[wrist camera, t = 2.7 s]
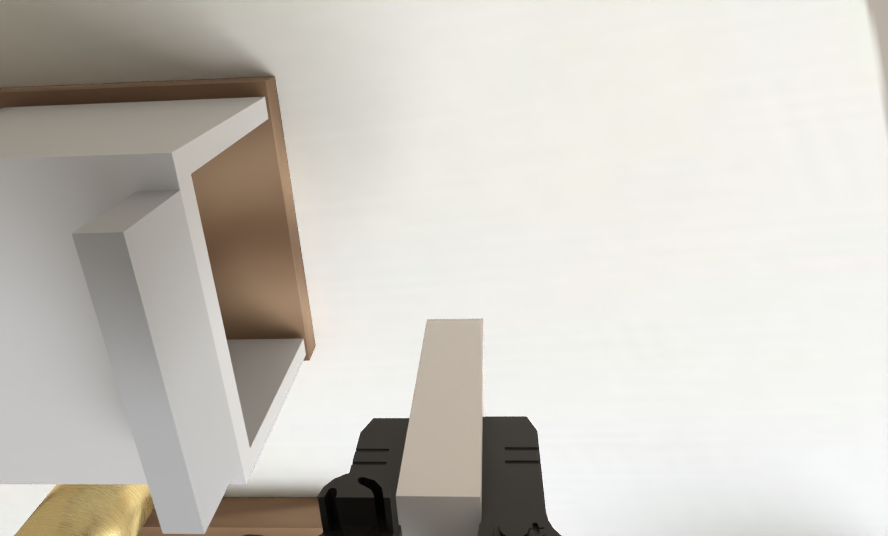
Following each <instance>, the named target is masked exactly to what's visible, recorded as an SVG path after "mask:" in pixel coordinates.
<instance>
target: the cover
mask: <svg viewBox="0 0 888 536" xmlns="http://www.w3.org/2000/svg"><path fill="white" fill-rule="evenodd" d="M267 119H268V113H267V106H266V100H265V97H247V98H222V99H198V100H173V101H149V102H124V103H100V104H75V105H50V106H26V107H4V108H1V109H0V484H148V487H149V490H150V493H151V497H152V500H153V503H154V506H155V510H156V513H157V516H158V520H159V523H160V526H161V529H162V533H163V534H205V532H206V530H207V528H208V526H209V524H210V522H211V520H212V518H213V516H214V514H215V512H216V510H217V508H218V506H219V504H220V502H221V500H222V498H223V496H224V494H225V492H226V489H227V487H228V485H246V484H247V482H248V480H249V478H250V475H251V473H252V471H253V469H254V467H255V464H256V462H257V460H258V458H259V456H260V454H261V451H262V449H263V447H264V445H265V443H266V440H267V438H268V436H269V434H270V432H271V430H272V427H273V425H274V423H275V421H276V419H277V416H278V414H279V412H280V410H281V408H282V406H283V403H284V401H285V399H286V397H287V395H288V392H289V390H290V388H291V386H292V384H293V382H294V379H295V377H296V375H297V373H298V371H299V368H300V366H301V364H302V362H303V360H304V358H305V355H306V352H305V345H304V339H231V340H226V335H225V330H224V326H223V321H222V316H221V312H220V307H219V302H218V298H217V293H216V288H215V284H214V279H213V274H212V270H211V265H210V260H209V256H208V251H207V247H206V242H205V237H204V233H203V228H202V223H201V219H200V214H199V209H198V205H197V200H196V195H195V191H194V186H193V181H192V177H191V174H192V173H193V172H194V171H196V170H197V169H199V168H200V167H201V166H203V165H204V164H206V163H207V162H208V161H210V160H211V159H213V158H214V157H215V156H217V155H218V154H220V153H221V152H223V151H224V150H225V149H227V148H228V147H230V146H231V145H232V144H234V143H235V142H237V141H238V140H239V139H241V138H242V137H244V136H245V135H246V134H248V133H249V132H251V131H252V130H253V129H255V128H256V127H258V126H259V125H260V124H262V123H263V122H265V121H266V120H267Z"/></svg>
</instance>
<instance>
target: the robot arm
mask: <svg viewBox="0 0 888 536" xmlns="http://www.w3.org/2000/svg"><path fill="white" fill-rule="evenodd" d="M318 504H319V510H320V516H321V522H322V528H323V533H322V534H320V535H319V536H561V535H560V534H559V533H558V532H557V531H556V530H554V529H553V527H552V526H551V524H550V522H549V521H548V518H547V515H546V509H545V500H544V491H543V481H542V472H541V464H540V453H539V444H538V435H537V430H536V429H535V427H534V426H533V425H532V423H531V422H530V421H529V419H528V418H527V417H485V371H484V335H483V319H434V320H427V323H426V328H425V334H424V340H423V345H422V351H421V357H420V362H419V368H418V373H417V379H416V385H415V390H414V396H413V402H412V407H411V413H410V418H373V420H372V421H371V422H370V423H369V424H368V425H367V426H366V427H365V428H364V430H363V431H362V432H361V433H360V437H359V441H358V444H357V448H356V452H355V455H354V458H353V465H352V466H351V469H350V473H349V474H345V475H343V476H340V477H338V478H335V479H333V480H332V481H331V482H329V483H328V484H327V485H326V486H324V487H323V489H322V490H321V492H320V494H319V496H318ZM243 536H262V535H253V534H247V535H243Z"/></svg>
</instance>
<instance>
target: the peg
mask: <svg viewBox="0 0 888 536" xmlns="http://www.w3.org/2000/svg"><path fill="white" fill-rule="evenodd" d="M154 507H155V506H154V503H153V500H152V497H151V493H150V490H149V487H148V484H57V485H56V486H55V487H54V488H53V489H52V491H51V492H50V493H49V494H48V495H47V497H46V498H45V499H44V500H43V502H42V503H41V504H40V505H39V506H38V508H37V509H36V510H35V511H34V512H33V514H32V515H31V516H30V517H29V518H28V520H27V521H26V522H25V523H24V525H23V526H22V527H21V528H20V529H19V531H18V532H17V533H16V534H15V535H14V536H137V535H138V534H139V532H140V530H141V529H142V527H143V526H144V524H145V522H146V521H147V519H148V517H149V516H150V514H151V512H152V511H153V509H154Z"/></svg>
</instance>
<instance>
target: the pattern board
mask: <svg viewBox="0 0 888 536" xmlns="http://www.w3.org/2000/svg"><path fill="white" fill-rule="evenodd" d="M247 97H265V100H266V106H267V113H268V119H267V120H266V121H265V122H263V123H262V124H260V125H259V126H258V127H256V128H255V129H253V130H252V131H251V132H249V133H248V134H246V135H245V136H244V137H242V138H241V139H239V140H238V141H237V142H235V143H234V144H232V145H231V146H230V147H228V148H227V149H225V150H224V151H223V152H221V153H220V154H218V155H217V156H215V157H214V158H213V159H211V160H210V161H208V162H207V163H206V164H204V165H203V166H201V167H200V168H199V169H197V170H196V171H194V172H193V173H192V174H191V177H192V181H193V186H194V191H195V195H196V200H197V205H198V209H199V214H200V219H201V223H202V228H203V233H204V237H205V242H206V247H207V251H208V256H209V260H210V265H211V270H212V274H213V279H214V284H215V288H216V293H217V298H218V302H219V307H220V312H221V316H222V321H223V326H224V330H225V335H226V340H231V339H304V345H305V352H306V355H305V358H304V360H303V361H306V360H310V357H311V355H312V353H313V351H314V348H315V340H314V333H313V326H312V320H311V313H310V307H309V300H308V293H307V287H306V280H305V273H304V267H303V260H302V254H301V247H300V240H299V234H298V227H297V221H296V214H295V207H294V201H293V194H292V187H291V181H290V174H289V168H288V161H287V154H286V148H285V141H284V134H283V128H282V121H281V115H280V108H279V101H278V95H277V88H276V82H275V76H271V77H248V78H225V79H201V80H178V81H155V82H131V83H108V84H85V85H61V86H38V87H15V88H0V109H1V108H4V107H26V106H50V105H75V104H100V103H124V102H149V101H173V100H198V99H222V98H247Z"/></svg>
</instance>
